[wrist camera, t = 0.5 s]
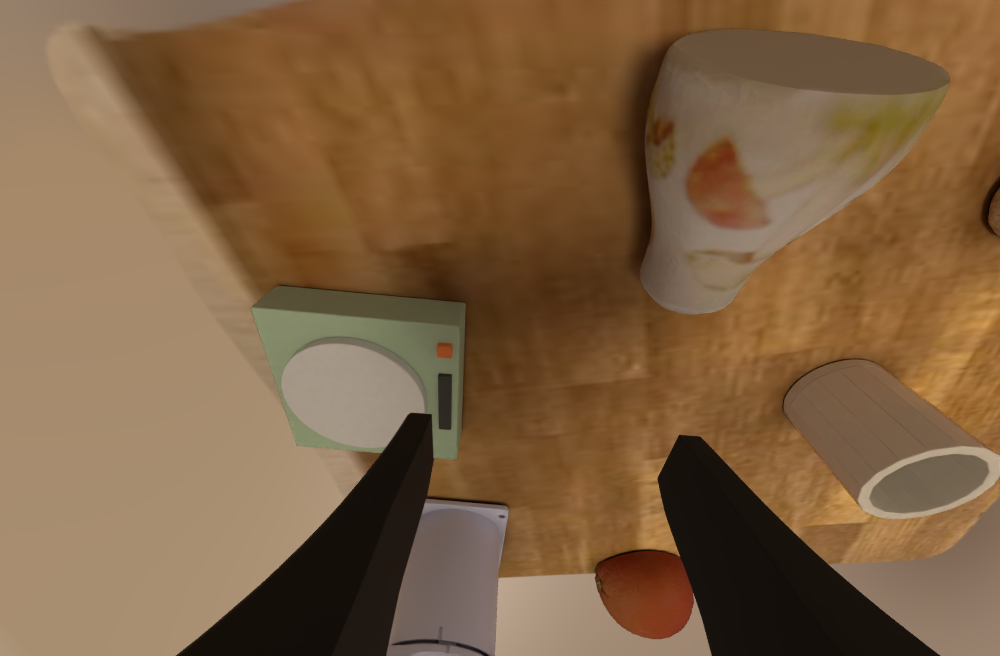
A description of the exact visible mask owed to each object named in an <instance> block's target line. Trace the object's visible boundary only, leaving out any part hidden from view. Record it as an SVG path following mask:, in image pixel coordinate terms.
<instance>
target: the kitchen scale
mask: <svg viewBox="0 0 1000 656" xmlns="http://www.w3.org/2000/svg"><path fill="white" fill-rule="evenodd" d="M251 311H252V314H253V317H254V320H255V323H256V326H257V329H258V332H259V335H260V338H261V341H262V344H263V347H264V350H265V353H266V356H267V359H268V362H269V365H270V368H271V371H272V373H273V376H274V379H275V382H276V385H277V388H278V391H279V394H280V397H281V400H282V403H283V406H284V409H285V412H286V415H287V418H288V421H289V424H290V427H291V429H292V433H293V435H294V439H295V441H296V444H297V446H305V447H316V448H328V449H339V450H350V451H361V452H373V453H382V452H383V450H384V449H385V448H386V446H387V445H388V444H389V442H390V441H391V439H392V438H393V436H394V435H395V434H396V432H397V431H398V429H399V427H400V426H401V424H402V423H403V421H404V420H405V418H406V416H407V415H408V414H409V413H411V412H412V413H424V414H432V429H433V455H434V458H440V459H452V460H456V459H457V455H458V449H459V443H460V437H461V431H462V403H463V373H464V344H465V315H466V304H465V303H462V302H451V301H440V300H429V299H418V298H407V297H397V296H386V295H375V294H364V293H353V292H342V291H331V290H320V289H310V288H299V287H288V286H276V287H275V288H274V289H273V290H271V291H270V292H269V293H268V294H267V295H265V296H264V297H263V298H262V299H260V300H259V301H258V302H257V303H255V304H254V305H253V306H252V307H251Z"/></svg>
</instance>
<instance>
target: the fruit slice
mask: <svg viewBox="0 0 1000 656" xmlns="http://www.w3.org/2000/svg"><path fill="white" fill-rule="evenodd" d="M595 580H596V585H597V589H598V592H599V594H600V597H601V599H602V602H603V604H604V605H605V607H606V609H607V610H608V612H609V614H610V615H611V616H612V617H613V618H614V619H615V620H616V622H617V623H618V624H620V625H621V626H622V627H623V628H625V629H626V630H628V631H630V632H631V633H633V634H636V635H639V636H641V637H646V638H650V639H663V638H668V637H671V636H672V635H674V634H676V633H678V632H679V631H681V630H682V629H683V628H684V626H685V625H686V624H687V621H688V620H689V618H690V615H691V613H692V608H693V604H694V599H693V590H692V588H691V585H690V582H689V579H688V576H687V574H686V571H685V568H684V565H683V563H682V560H681V559H680V558H679V557H677V556H674V555H671V554H668V553H664V552H659V551H642V552H633V553H628V554H624V555H620V556H617V557H614V558H611V559H609V560H606V561H603V562H602V563H600V564H599V565H598V566H597V569H596V577H595Z"/></svg>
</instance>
